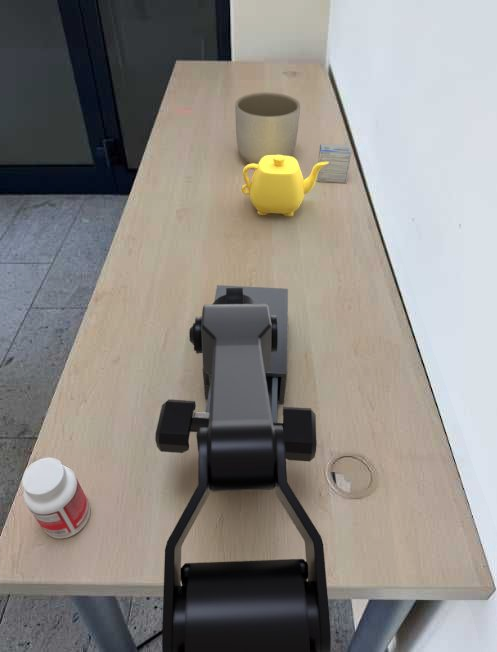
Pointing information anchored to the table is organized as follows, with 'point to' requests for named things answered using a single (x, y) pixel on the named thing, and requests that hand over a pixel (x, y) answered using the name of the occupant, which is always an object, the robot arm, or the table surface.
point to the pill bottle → (55, 498)
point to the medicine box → (334, 163)
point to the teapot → (278, 184)
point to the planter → (266, 125)
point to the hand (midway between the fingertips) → (237, 462)
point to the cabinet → (278, 307)
